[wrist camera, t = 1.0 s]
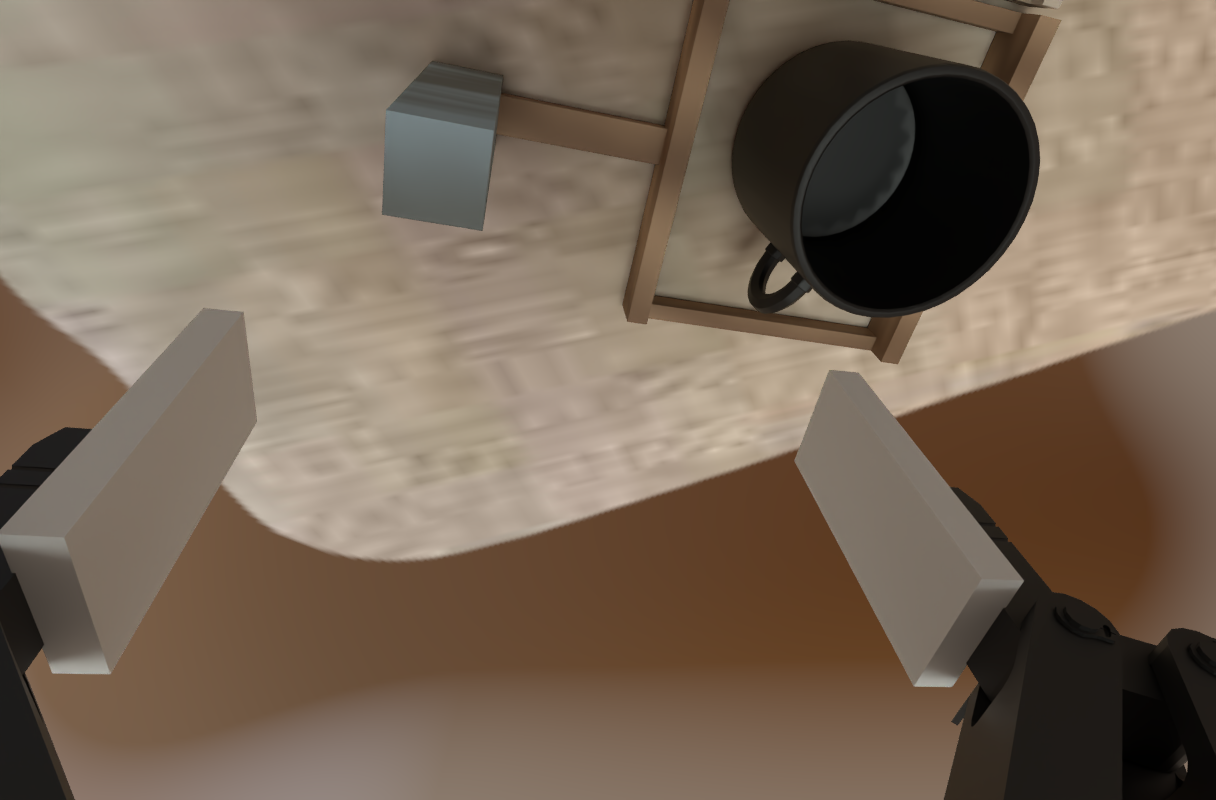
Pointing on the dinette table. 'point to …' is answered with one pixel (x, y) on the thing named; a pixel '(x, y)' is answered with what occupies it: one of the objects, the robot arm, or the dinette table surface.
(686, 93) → the wooden frame with post
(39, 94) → the dinette table surface
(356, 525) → the dinette table surface
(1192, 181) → the dinette table surface
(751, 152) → the mug
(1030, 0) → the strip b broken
